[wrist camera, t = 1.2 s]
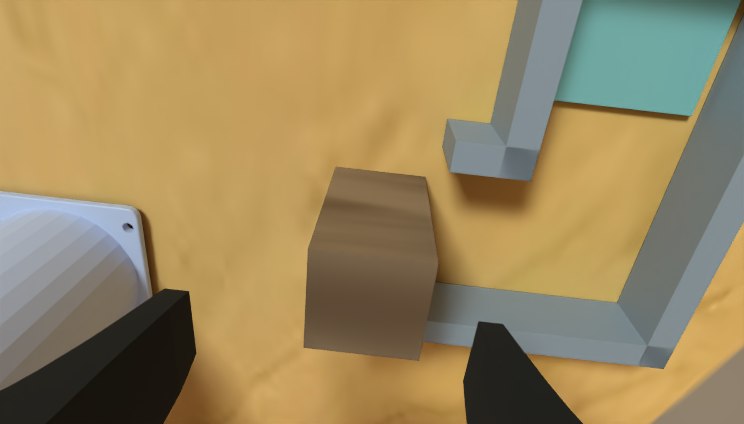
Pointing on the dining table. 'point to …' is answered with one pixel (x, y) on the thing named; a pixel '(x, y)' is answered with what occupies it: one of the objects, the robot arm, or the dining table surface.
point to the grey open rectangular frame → (665, 237)
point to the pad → (644, 53)
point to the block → (371, 266)
